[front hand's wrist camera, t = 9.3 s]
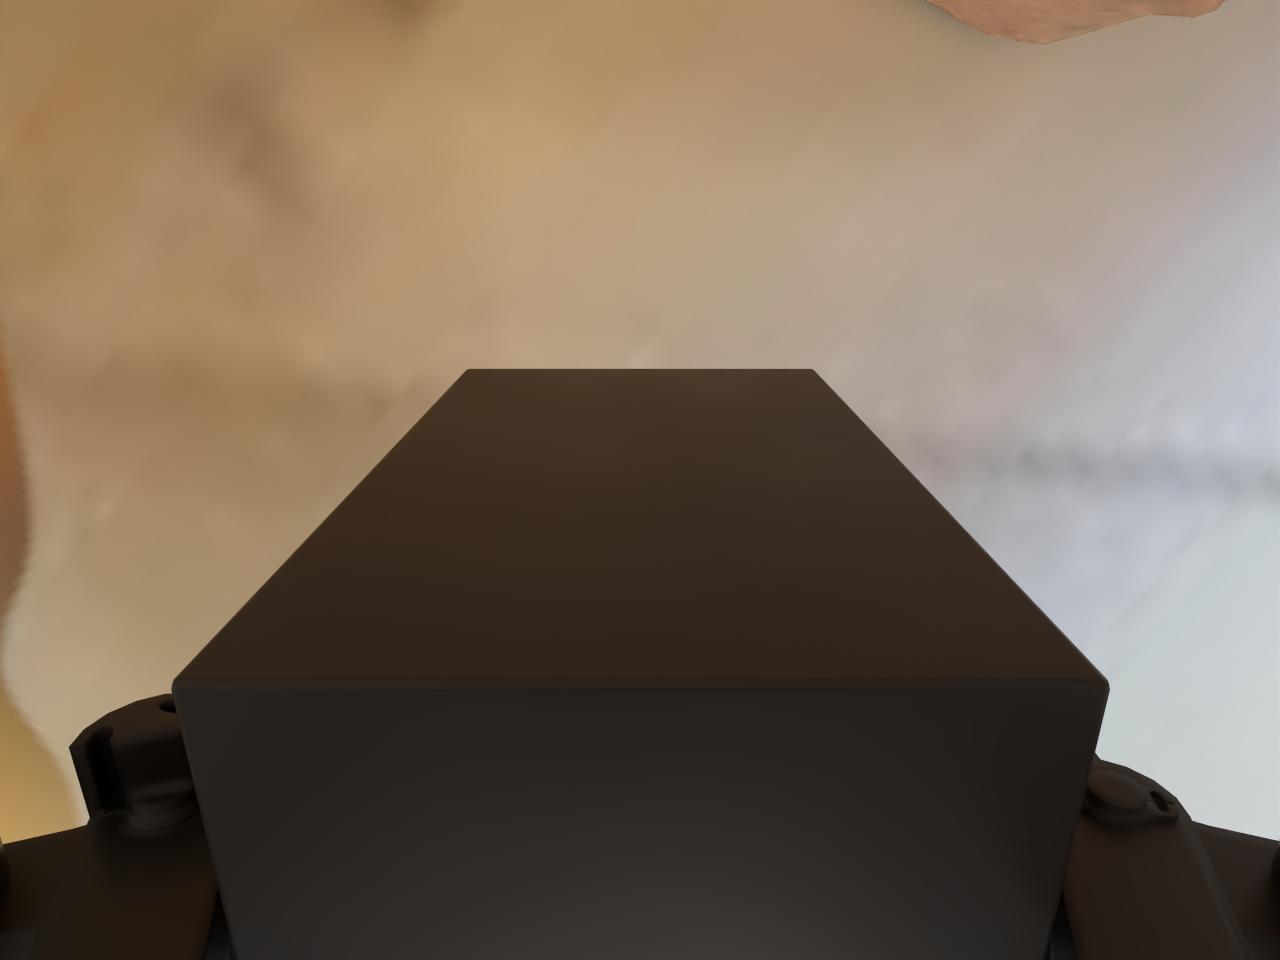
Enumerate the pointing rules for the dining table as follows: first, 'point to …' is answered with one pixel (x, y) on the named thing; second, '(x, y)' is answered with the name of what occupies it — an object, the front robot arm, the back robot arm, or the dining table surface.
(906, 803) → the bar
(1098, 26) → the stone
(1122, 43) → the dining table surface
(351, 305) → the dining table surface
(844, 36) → the dining table surface
